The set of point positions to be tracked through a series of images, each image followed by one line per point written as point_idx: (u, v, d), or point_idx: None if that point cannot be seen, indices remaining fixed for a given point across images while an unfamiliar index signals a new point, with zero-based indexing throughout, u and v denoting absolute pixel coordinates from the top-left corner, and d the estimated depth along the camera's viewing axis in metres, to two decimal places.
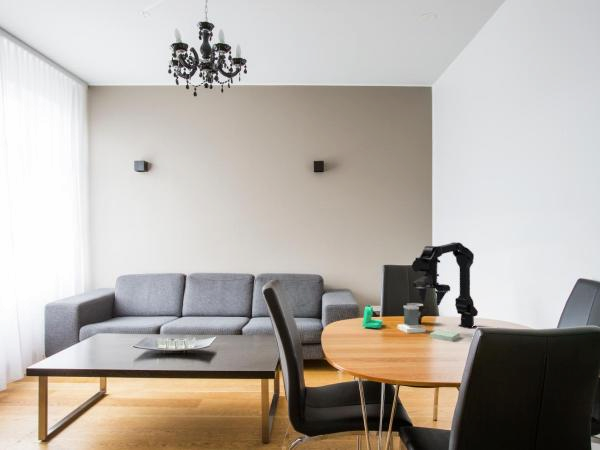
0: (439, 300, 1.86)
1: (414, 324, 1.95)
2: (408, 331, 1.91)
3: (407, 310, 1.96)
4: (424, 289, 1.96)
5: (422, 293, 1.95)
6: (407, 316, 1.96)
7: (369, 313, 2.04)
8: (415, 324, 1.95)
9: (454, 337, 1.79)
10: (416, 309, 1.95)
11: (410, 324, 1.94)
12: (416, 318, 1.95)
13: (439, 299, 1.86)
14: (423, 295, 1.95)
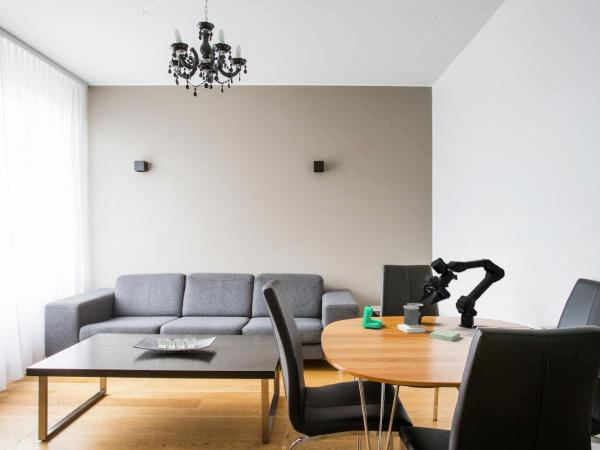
0: (434, 301, 1.94)
1: (414, 324, 1.95)
2: (408, 331, 1.91)
3: (407, 310, 1.96)
4: (429, 294, 2.06)
5: (425, 294, 2.05)
6: (407, 316, 1.96)
7: (369, 313, 2.04)
8: (415, 324, 1.95)
9: (454, 337, 1.79)
10: (416, 309, 1.95)
11: (410, 324, 1.94)
12: (416, 318, 1.95)
13: (434, 300, 1.94)
14: (424, 296, 2.04)
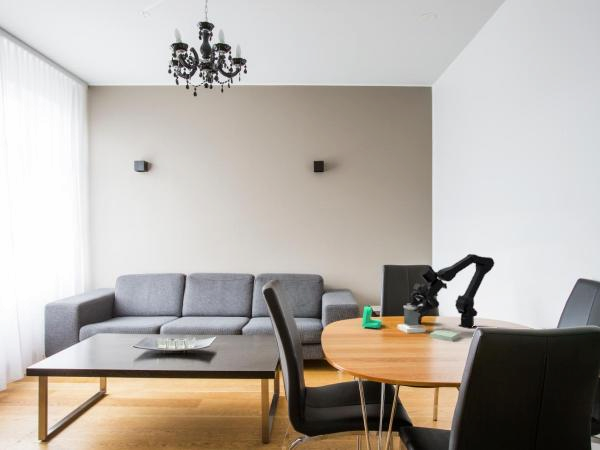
0: (422, 309, 1.93)
1: (414, 324, 1.95)
2: (408, 331, 1.91)
3: (407, 310, 1.96)
4: (418, 302, 2.04)
5: (414, 303, 2.03)
6: (407, 316, 1.96)
7: (368, 313, 2.04)
8: (415, 324, 1.95)
9: (454, 337, 1.79)
10: (416, 309, 1.95)
11: (410, 324, 1.94)
12: (416, 318, 1.95)
13: (423, 308, 1.93)
14: None
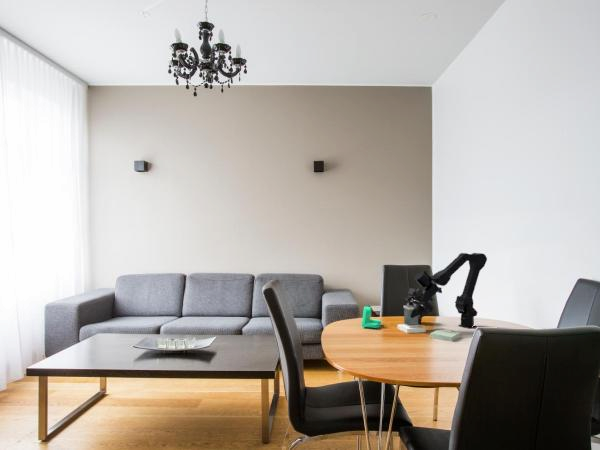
0: (415, 313, 1.94)
1: (414, 324, 1.95)
2: (408, 331, 1.91)
3: (407, 310, 1.96)
4: None
5: None
6: (407, 316, 1.96)
7: (368, 313, 2.04)
8: (415, 324, 1.95)
9: (454, 337, 1.79)
10: None
11: (410, 324, 1.94)
12: (416, 318, 1.95)
13: (415, 312, 1.94)
14: None
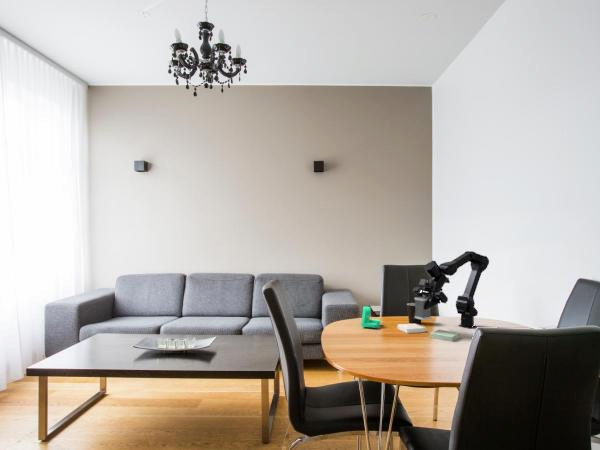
0: (428, 305, 1.88)
1: (427, 316, 1.89)
2: (408, 331, 1.91)
3: (420, 302, 1.89)
4: None
5: None
6: (420, 308, 1.89)
7: (367, 313, 2.04)
8: (428, 316, 1.89)
9: (454, 337, 1.79)
10: None
11: (423, 316, 1.88)
12: (428, 309, 1.89)
13: (429, 304, 1.88)
14: None
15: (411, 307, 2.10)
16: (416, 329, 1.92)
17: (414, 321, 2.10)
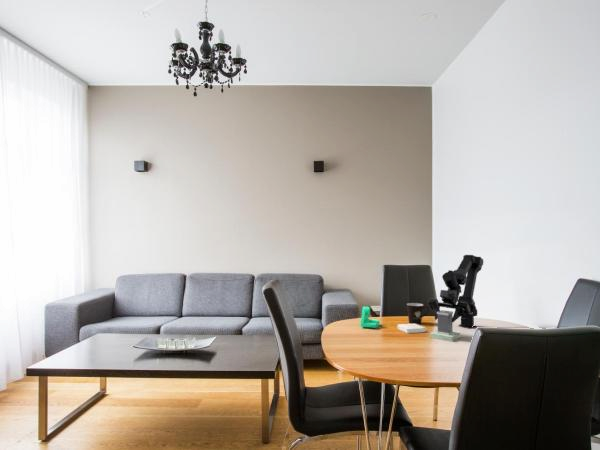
0: (455, 317, 1.81)
1: (450, 330, 1.82)
2: (408, 331, 1.91)
3: (444, 316, 1.81)
4: (439, 310, 1.90)
5: (437, 311, 1.88)
6: (445, 322, 1.81)
7: (367, 313, 2.05)
8: (451, 330, 1.82)
9: (454, 337, 1.79)
10: (451, 314, 1.83)
11: (448, 331, 1.80)
12: (451, 323, 1.83)
13: (456, 316, 1.81)
14: None
15: (411, 307, 2.10)
16: (416, 329, 1.92)
17: (414, 321, 2.10)
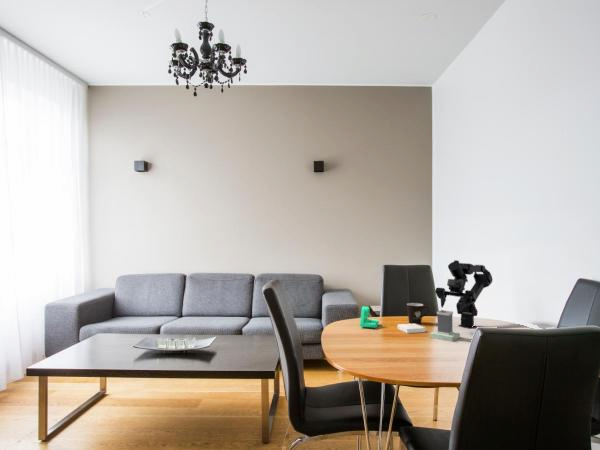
0: (463, 305, 1.88)
1: (450, 330, 1.82)
2: (408, 331, 1.91)
3: (444, 316, 1.81)
4: (445, 298, 1.98)
5: (443, 299, 1.96)
6: (445, 322, 1.81)
7: (366, 313, 2.05)
8: (451, 330, 1.82)
9: (454, 337, 1.79)
10: (451, 314, 1.83)
11: (448, 331, 1.80)
12: (451, 323, 1.83)
13: (464, 304, 1.88)
14: (443, 301, 1.95)
15: (411, 307, 2.10)
16: (416, 329, 1.92)
17: (414, 321, 2.10)
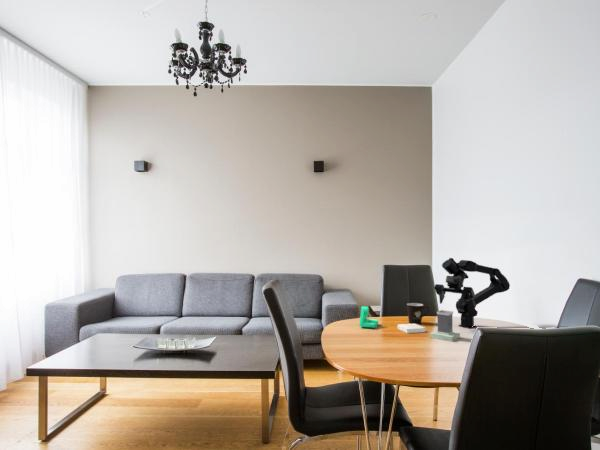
0: (461, 301, 1.92)
1: (450, 330, 1.82)
2: (408, 331, 1.91)
3: (444, 316, 1.81)
4: (443, 294, 2.02)
5: (442, 295, 2.00)
6: (445, 322, 1.81)
7: (365, 313, 2.05)
8: (451, 330, 1.82)
9: (454, 337, 1.79)
10: (451, 314, 1.83)
11: (448, 331, 1.80)
12: (451, 323, 1.83)
13: (462, 300, 1.92)
14: (442, 298, 1.99)
15: (411, 307, 2.10)
16: (416, 329, 1.92)
17: (414, 321, 2.10)
